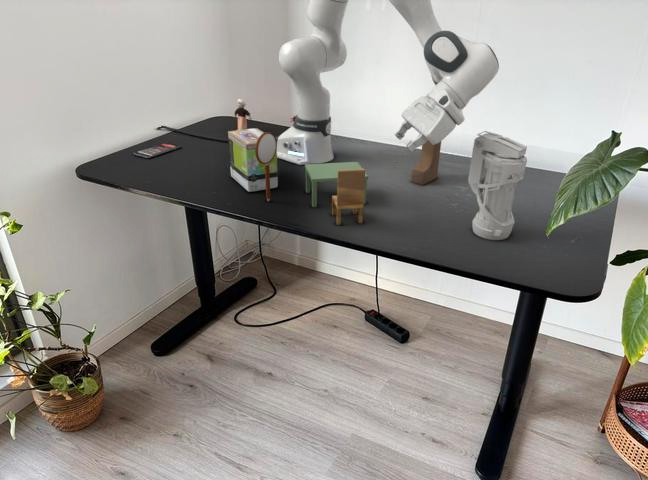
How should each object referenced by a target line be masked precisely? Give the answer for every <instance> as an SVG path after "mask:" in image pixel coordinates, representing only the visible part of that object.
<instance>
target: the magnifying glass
mask: <svg viewBox="0 0 648 480" xmlns="http://www.w3.org/2000/svg"><path fill="white" fill-rule="evenodd" d="M275 137H276V136H275V135H274V134H273V133H272V132H270V131H266V132H265V131H264V133H263V134H262V135H261V136H260V137H259V138H258V140H257V143H256V147H255V154H256V158H257V160H258V161H259V162H260V163H262V164H265V180H266V189H265V199H266V200H267V202H270V201H271V188H270V174H269V164H268V163H269V162H271V161H272V159H273V158H274V156H275V153H276V149H277V142H276V138H275Z"/></svg>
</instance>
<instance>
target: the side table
mask: <svg viewBox="0 0 648 480" xmlns="http://www.w3.org/2000/svg"><path fill="white" fill-rule="evenodd" d="M304 168H305V193H306V194H311V207H312V208H317V207H318V183H328V182H337V180H338V170H349V169H363V167H362V165H361V164H360V163H359V162H358V161H348V162H347V161H346V162H345V161H344V162H325V163H316V164H305V165H304ZM368 180H369V176H368V174H367V173H366V172H365V185H364V203H363V205H366V203H367V188H368V187H367V186H368Z"/></svg>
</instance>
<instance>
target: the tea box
mask: <svg viewBox="0 0 648 480" xmlns="http://www.w3.org/2000/svg"><path fill="white" fill-rule="evenodd" d="M263 133H265V131H263V130H261V129H259V128H258V127H254V128H247V129H245V130H237V129H236V130H229V131H227V139H228V141H229V142H228V154H229V163H230V164H229V166H230V167H229V168H230V177H231V178H233V179H234V180H235V181H236V182H237V183H238V184H239V185H240V186H241V187H243V188H244V189H245V190H246V191H247V192H248V193H252V192H259V191H266V180H265V164H262V163H260V162H259V161H258V160H257V158H256V154H255V147H256V143H257V140H258V138H259V137H260V136H261V135H262V134H263ZM276 142H277V141H276ZM268 164H269V174H270V189H274V188H275V189H276V188H278V186H279V185H278V184H279V183H278V182H279V181H278V179H279V177H278V158H277V149H276V153H275V156H274V158H273V159H272V161H271V162H269V163H268Z"/></svg>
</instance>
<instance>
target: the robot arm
mask: <svg viewBox="0 0 648 480" xmlns="http://www.w3.org/2000/svg"><path fill="white" fill-rule="evenodd" d="M388 1H389V3H390V4H391V5H392V6H393V8H395V10H396V11H397V12H398V13H399V14H400V16H401V17H402V18H403V19H404V20H405V22H406V23H407V24H408V25H409V27H410V28H411V29H412V31H413V32H414V34H415V36H416V37H417V39H418V41H419V43H420V45H421V46H422V48H423V56H424V57H423V58H424V61H425V64H426V66H427V69H428V71H429V73H430V75H431V79H432V82H433V84H434V85H435V86H434V87H433V88H432V89H430V91H428V93H426V95H423V96H420V97H418V98H417V99H415V100H414V101H413V102H412V103H410V105H408V106H407V107H406V108H405V109H404V110H403V112H402V114H401V117H402V119H404V121H403V122H402V123H401V124H400V126H399V128H398V129H397V131H396V132H395V133H394V136H395V138H397V139H398V140H399V141H401V140H402V139H403V138H405V137H406V133H407V131H409V130H411V129H414V130H415V131H416V132H417V133H418V135H417V137H416V138H415V139H413V140H410V141H409V142H408V143H406V148H408V150H409V151H410V152H414V151H415V150H416V149H417V148H419V147H422V145H423V144H425V143H426V142H427V141H429V142H430V143H431V144H432V145H435V144H437V143H439V142H441V143H442V141H444V139H445V138H447V136H449V135H450V134H451V133H452V132H453V131H454V129H456V127H457V126H460V125H462V124H463V123H464V122H465V120H466V118H465V115H464V111H463V110H464V109H465V108H466V106H468V104H469V103H470V101H471V100H472V99H473V98H474V97H476V96H478V95H479V94H481V92H482V91H483V90H484V89H485V88H486V87H487V86H488V85H489V84H490V83H491V82H492V80H493V79H494V78H495V77H496V75H498V73H499V69H500V63H499V59H498V58H497V54H496V53H495V52H494V50H493V48H492V47H491V46H490V45H488V43H486V42H476V41H475V42H474V41H471V40H467V39H465V38H463V37H461V36H459V35H457V34H456V33H454V32H453V31H451V30H442V28H441V26H440V23H438V21H437V18H436V16H435V13H434V10H433V6H432V2H431V0H388ZM348 4H349V0H309V1H308V4H307V9H306V17H307V19H308V21H309V22H310V23H311V25H312V33H311V35H310V36H308V37H300V38H294V39H292V40H290V41H288V42H285V43H283V44H282V46H280V49H279V53H278V62H279V65H280V67H281V70H282V71H283V72H284V73H285V74H286V75H287V76H288V77H289V78H290V80H291V82H292V84H293V86H294V89H295V95H296V115H294V116H293V117H292V118H290V121H289V122H290V123H292V122H293V123H292V125H291V126H290V127H289V128H288V129H286V130H285V131H284V132H282V133H281V134H278V135H277V136H275V138H276V141H277V159H281V160H284V161H287V162H289V163H294V164H296V165H299V166H305V164H323V163H329V162H331V161H332V160H333V159H335V155H334V151H333V147H332V140H331V135H332V134H331V133H332V116H331V93H330V91H329V90H328V89H327V88H326V87H325V86H323V84H322V81H321V74H323V73H327V72H332V71H334V70H336V69H338V68H340V67H341V66H343V65H344V64H345V63H346V61H347V55H348V51H347V47H346V46H347V45H346V44H345V42H344V40H343V38H342V26H343V21H344V18H345V14H346V12H347V11H346V10H347V7H348ZM160 126H161V127H159V126H158V127H157V128H156V130H157V131H159V130H161V129H165V130H168V131H173V132H178V133H181V134H184V135H189V136H192V137H198V138H202V139H208V140H213V141H219V142H226V143H229V141H228V138H220V137H215V136H209V135H204V134H199V133H194V132H190V131H186V130H182V129H178V128H174V127H170V126H166V125H160Z"/></svg>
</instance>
